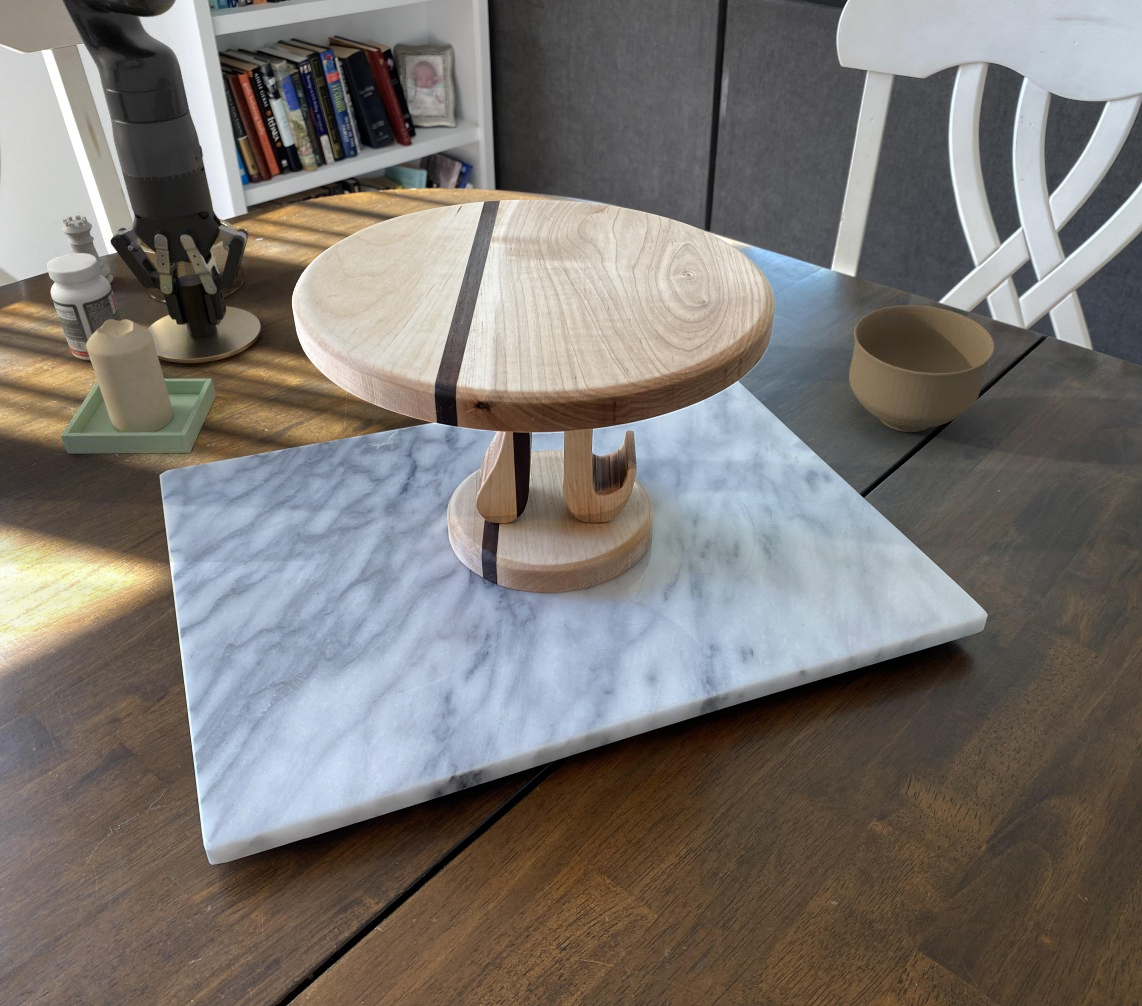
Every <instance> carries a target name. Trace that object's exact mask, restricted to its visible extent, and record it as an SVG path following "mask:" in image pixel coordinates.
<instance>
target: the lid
mask: <svg viewBox="0 0 1142 1006" xmlns="http://www.w3.org/2000/svg"><path fill="white" fill-rule="evenodd" d="M175 283H176V287H177V291H178V295H179V299H180V303H181V307H182V311H183V315H184V319H185V325H177V323H176V320H172V318H171V317H170V316H169V314H168V315H166V316H163V317H161V318H159V319H158V320H156V321H155V322H154V323H151V325H150V326H149V327H147V328H146V329H147V330H148V331H150V332H151V334H152V337H153V341H154V344H155V348H156V352H157V355H158V359H160V360H162V361H165V362H171V363H177V364H178V363H180V364H199V363H207V362H213V361H218V360H222V359H226V358H229V357H232V356H235V355H237V354H240V353H241V352H243V351H246V350H247V349H249V348H250V347H251V346H253V345H254V344H256V342H257V341H258V340H259V338H260V336H261V333H262V325H261V321H260V320H259V318H258V317H257V316H256V315H255V314H253V313H252V312H250V311H248V310H246V309H242V308H239V307H234V306H227V305H226V314H225V316H224V318H223V320H221V322H220V324H219V325H212V324H211V322H210V318H209V313H208V309H207V305H206V301H205V296H204V294H205V292H206V291H205V289H204V286H203V284H202V282H201V279H200V277H199V275H197V274H189V275H184V276H181V277H179V278H177V279H176V281H175Z"/></svg>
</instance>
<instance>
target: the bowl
mask: <svg viewBox="0 0 1142 1006" xmlns="http://www.w3.org/2000/svg"><path fill="white" fill-rule="evenodd" d="M853 338H854V345H853V351H852V357H851V362H850V367H849V371H848V372H849V373H848V381H849V385H850V388H851V391H852V392H853V395H854V397H856V399H857V400H858V402H859V403H860V405H861V406H862V407H863V408H864V409H865V410H866V411H867V412H869V414H871V415H872V416H874V417H875V418H877V419H879V421H880V422H881V423H882V424H883V425H885V426H886V427H887V428H890V429H892V430H895V431H899V432H903V433H918V432H922V431H925V430H927V429H930V428H935V427H937V426H942V425H944V424H947V423H949V422H952V421H954V420H956V419H957V418H959V417H960V416H962V415H964V414H965V413H966V412H968V411H969V410H970V409H971V408H972V407H973V406H974V405H975V403H976V402H977V400H978V399H979V396H980V393H981V389H982V385H983V382H984V381H983V380H984V377H985V374H986V370H987V367H988V364H989V363H990V361H991V359H992V358H993V356H994V354H995V348H996V347H995V341H994V339H993V336H992V334H990V332H989V331H988V330H987V329H986V328H985V327H984V326H982V325H981V324H980V323H978V322H977V321H976V320H973V319H972V318H969V317H968V316H965V315H964V314H962V313H958V312H956V311H952V310H949V309H945V308H940V307H935V306H929V305H919V304H905V305H904V304H903V305H892V306H887V307H882V308H879V309H877V310H874V311H870V312H869V313H867V314H866V315H864V316H863V317H862V318H860V320H859V321H857V323H856V325H855V326H854V330H853Z"/></svg>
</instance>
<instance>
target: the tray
mask: <svg viewBox="0 0 1142 1006" xmlns="http://www.w3.org/2000/svg"><path fill="white" fill-rule="evenodd" d="M164 380H165V384H166V387H167V391H168V394H169V398H170V402H171V405H172V409H173V418H172V420H171V421H170V422H169V423H168V424H167V425H166V426H165V427H163V428H161V429H159V430H157V431H154V432H138V433H120V432H118V431H117V430H116V429H115V428H114V427H113V425H112V422H111V420H110V417H109V414H108V411H107V408H106V405H105V402H104V399H103V396H102V393H101V390H100V387H99V384H98V381H96V382H95V383H94V385H93V387H92V388H91V389H90V391H89V393H88V394H87V395H86V397H85V399H84V400H83V402H82V403H81V405H80V406H79V407H78V409H77V410H76V411H75V414H74V415H73V417H72V418H71V419H70V421H69V423H68V425H66V427H65V429H64V430H63V432H62V433H61V435H60V438H61V440H62V443H63V446H64V448H65V451H66V454H68V455H69V454H70V455H73V454H74V455H77V454H81V455H83V454H85V455H88V454H89V455H90V454H185V453H186V454H190V453H191V452H192V449H193V447H194V445H195V443H196V441H197V438H198V437H199V434H200V432H201V429H202V427H203V425H204V423H205V422H206V419H207V417H208V415H209V412H210V410H211V408H212V406H213V404H214V401H215V398H216V397H217V392H216V389H215V384H214V380H213V378H164Z"/></svg>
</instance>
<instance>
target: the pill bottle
mask: <svg viewBox="0 0 1142 1006" xmlns="http://www.w3.org/2000/svg"><path fill="white" fill-rule="evenodd" d="M46 269H47V273H48V276H49V278H50V279H51V280H52V281H53V282H54V283H53V284H52V285H51V288H50V296H51V299H52V302H53V305H54V309H55V311H56V313H57V316H58V319H59V321H60V325H61V327H62V331H63V333H64V336H65V339H66V342H67V344H68V348H69V350H70V352H71V354H72V355H73V356H74V357H75V358H77V359H80V360H82V361H91V360H90V357H89V354H88V351H87V347H86V343H87V341H88V340H89V338H90V337H91V336H92V334H93V333H94V332H96V330H97V329H98V328H100V327H102V325H103V324H104V322H105V321H106V320H109V319H113V320H117V321H121V320H122V316H121V314H120V311H119V307H118V304H117V301H116V298H115V295H114V291H113V288H112V285H111V284H110V283H109V281H108V280H107V279H106V278H105V277H103V276H101V275H99V272H100V267H99V264H98V261H97V259H96V257H95V256H93V255H91V254H86V253H73V252H72V253H67V254H62V255H60V256H57V257H54V258H52V259H50V260H49V261H48V262H47V264H46Z"/></svg>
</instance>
